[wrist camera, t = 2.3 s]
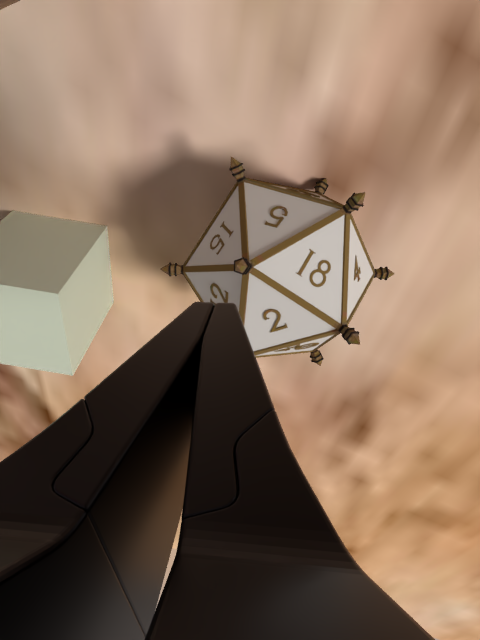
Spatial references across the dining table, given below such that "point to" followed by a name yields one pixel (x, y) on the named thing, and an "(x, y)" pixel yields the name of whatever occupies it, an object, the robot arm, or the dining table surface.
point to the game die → (283, 265)
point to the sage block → (51, 290)
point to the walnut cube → (6, 3)
